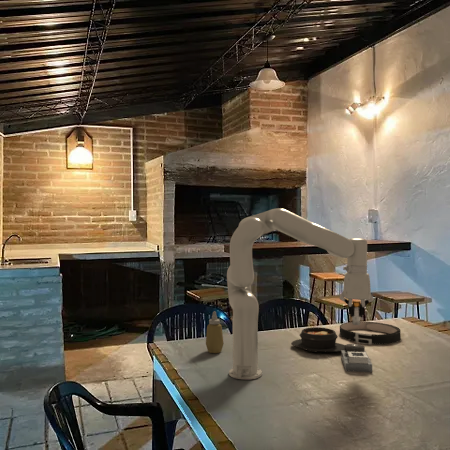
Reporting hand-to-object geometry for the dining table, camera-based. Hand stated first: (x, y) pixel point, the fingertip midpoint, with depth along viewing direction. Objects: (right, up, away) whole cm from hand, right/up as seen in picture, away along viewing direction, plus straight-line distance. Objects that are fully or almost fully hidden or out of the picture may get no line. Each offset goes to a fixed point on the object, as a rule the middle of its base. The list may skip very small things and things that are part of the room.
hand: (356, 316), depth 181 cm
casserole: (-9, -21, +27) cm, 35 cm away
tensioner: (+1, -21, +5) cm, 21 cm away
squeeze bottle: (-56, -21, +25) cm, 65 cm away
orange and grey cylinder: (0, -3, 0) cm, 3 cm away
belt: (+20, -20, +49) cm, 57 cm away
